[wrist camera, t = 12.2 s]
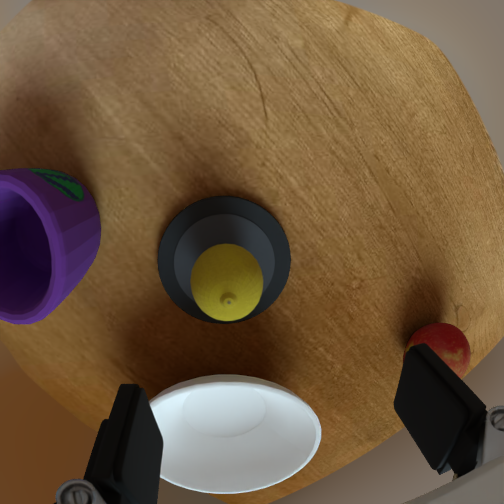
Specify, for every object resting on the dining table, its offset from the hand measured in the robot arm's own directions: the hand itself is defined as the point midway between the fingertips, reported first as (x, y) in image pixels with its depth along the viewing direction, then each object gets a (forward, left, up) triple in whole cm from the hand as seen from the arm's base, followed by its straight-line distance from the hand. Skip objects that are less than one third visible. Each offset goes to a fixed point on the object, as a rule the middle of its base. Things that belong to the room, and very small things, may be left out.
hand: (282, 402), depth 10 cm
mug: (-3, -20, -20) cm, 29 cm away
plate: (+1, -1, -20) cm, 20 cm away
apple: (+10, +24, -20) cm, 33 cm away
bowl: (+19, 0, -20) cm, 28 cm away
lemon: (+1, -1, -19) cm, 19 cm away
